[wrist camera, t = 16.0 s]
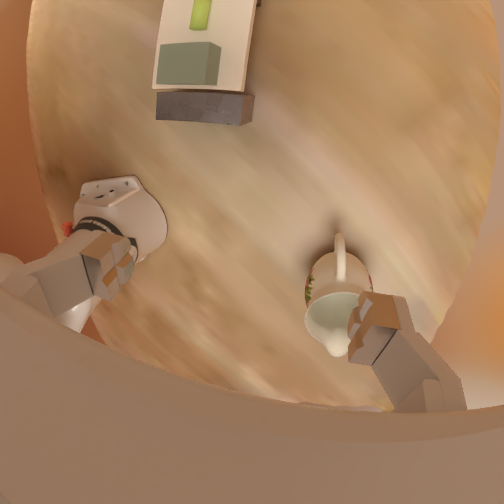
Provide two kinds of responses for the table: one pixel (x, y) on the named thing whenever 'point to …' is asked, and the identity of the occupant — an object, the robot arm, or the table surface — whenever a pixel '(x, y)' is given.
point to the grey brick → (205, 106)
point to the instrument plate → (217, 32)
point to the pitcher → (334, 296)
